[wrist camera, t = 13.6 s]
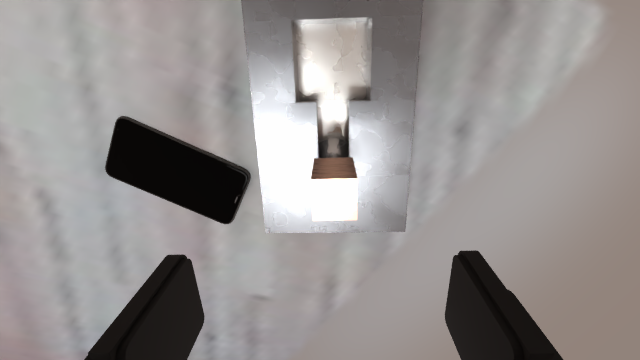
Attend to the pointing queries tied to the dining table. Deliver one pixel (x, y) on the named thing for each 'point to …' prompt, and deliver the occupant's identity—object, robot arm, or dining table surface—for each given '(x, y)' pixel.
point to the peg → (333, 181)
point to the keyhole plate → (333, 103)
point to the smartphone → (175, 170)
